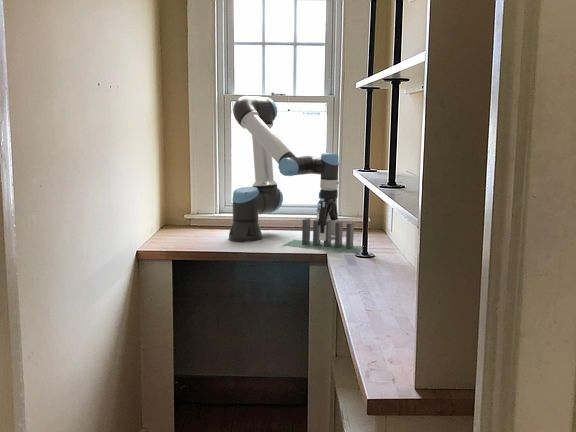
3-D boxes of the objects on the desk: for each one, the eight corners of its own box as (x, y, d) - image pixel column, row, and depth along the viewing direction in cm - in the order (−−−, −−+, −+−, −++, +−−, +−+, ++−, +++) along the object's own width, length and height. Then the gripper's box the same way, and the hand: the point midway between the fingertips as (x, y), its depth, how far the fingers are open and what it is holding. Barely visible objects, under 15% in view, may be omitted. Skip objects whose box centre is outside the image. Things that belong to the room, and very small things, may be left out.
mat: (281, 246, 258) (281, 245, 258) (293, 240, 271) (293, 239, 271) (357, 254, 246) (357, 253, 246) (366, 247, 259) (366, 246, 259)
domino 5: (345, 248, 254) (346, 223, 252) (349, 246, 259) (349, 221, 257) (349, 249, 253) (350, 224, 251) (353, 247, 258) (354, 222, 256)
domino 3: (323, 246, 258) (324, 221, 256) (327, 244, 262) (327, 219, 260) (327, 247, 257) (328, 222, 255) (331, 244, 262) (331, 220, 260)
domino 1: (302, 244, 261) (302, 219, 259) (305, 242, 266) (306, 218, 264) (305, 244, 261) (306, 220, 259) (309, 242, 265) (310, 218, 263)
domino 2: (312, 245, 259) (313, 220, 258) (316, 243, 264) (317, 218, 262) (316, 245, 259) (317, 221, 257) (320, 243, 263) (321, 219, 261)
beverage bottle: (332, 230, 295) (333, 190, 292) (334, 234, 287) (335, 193, 283) (315, 230, 294) (316, 190, 291) (317, 234, 286) (318, 193, 283)
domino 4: (334, 247, 256) (335, 222, 254) (338, 245, 260) (338, 220, 258) (338, 248, 255) (339, 223, 253) (342, 245, 260) (342, 221, 258)
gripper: (328, 193, 243) (326, 243, 246) (345, 186, 265) (344, 233, 269) (311, 191, 245) (309, 242, 249) (329, 185, 268) (328, 231, 272)
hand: (327, 237), depth 259 cm, fingers open, 13 cm apart
